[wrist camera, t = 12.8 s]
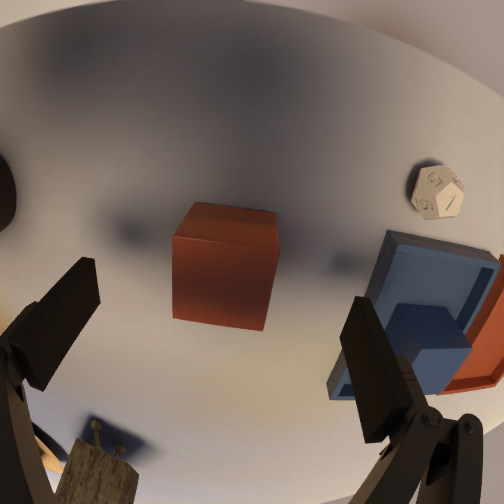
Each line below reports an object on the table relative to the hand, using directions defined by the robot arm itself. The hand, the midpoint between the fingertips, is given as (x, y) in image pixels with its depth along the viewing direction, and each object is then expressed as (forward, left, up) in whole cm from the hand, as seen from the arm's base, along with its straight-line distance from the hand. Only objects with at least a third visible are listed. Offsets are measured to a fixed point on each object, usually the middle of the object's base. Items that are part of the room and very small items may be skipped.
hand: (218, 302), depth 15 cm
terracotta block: (0, 0, -6) cm, 6 cm away
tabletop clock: (+34, -15, -6) cm, 37 cm away
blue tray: (+5, +15, -6) cm, 17 cm away
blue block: (+5, +15, -5) cm, 17 cm away
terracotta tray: (+5, +27, -6) cm, 28 cm away
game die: (-6, +12, -6) cm, 15 cm away
